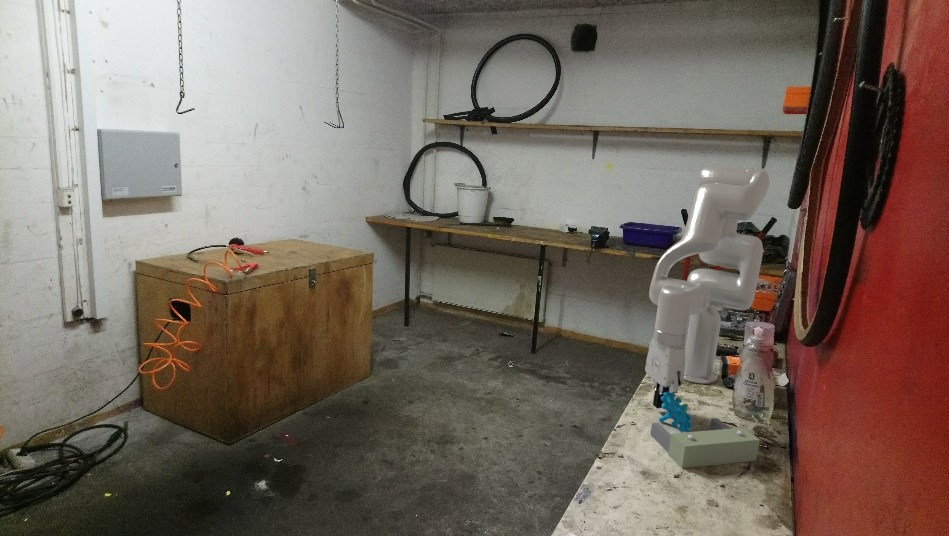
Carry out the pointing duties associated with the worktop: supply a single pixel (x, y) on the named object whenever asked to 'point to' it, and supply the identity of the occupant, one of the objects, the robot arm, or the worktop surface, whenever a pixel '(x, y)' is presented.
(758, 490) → the worktop surface
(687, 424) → the blue bumpy irregular piece
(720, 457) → the grey-green u-shaped bracket
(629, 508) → the worktop surface
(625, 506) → the worktop surface
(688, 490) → the worktop surface
